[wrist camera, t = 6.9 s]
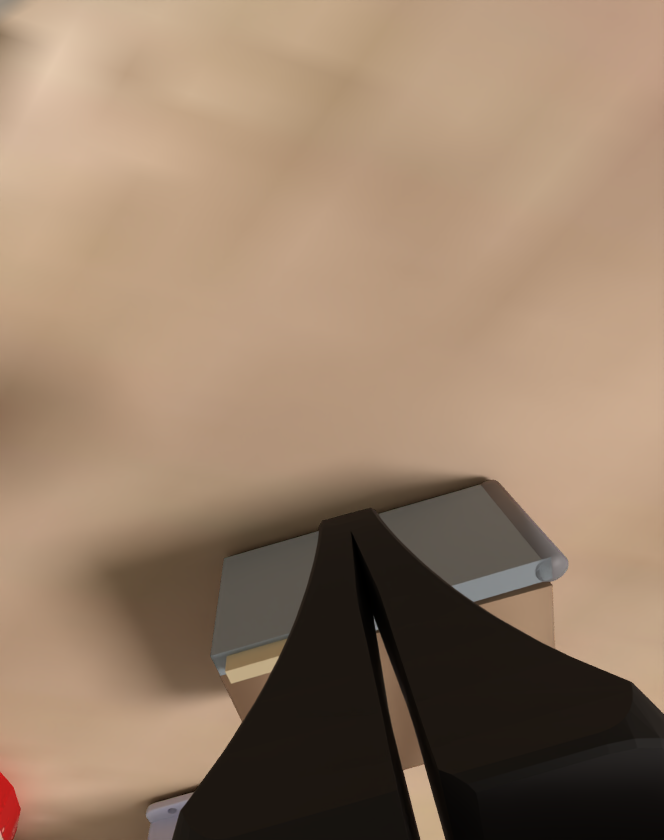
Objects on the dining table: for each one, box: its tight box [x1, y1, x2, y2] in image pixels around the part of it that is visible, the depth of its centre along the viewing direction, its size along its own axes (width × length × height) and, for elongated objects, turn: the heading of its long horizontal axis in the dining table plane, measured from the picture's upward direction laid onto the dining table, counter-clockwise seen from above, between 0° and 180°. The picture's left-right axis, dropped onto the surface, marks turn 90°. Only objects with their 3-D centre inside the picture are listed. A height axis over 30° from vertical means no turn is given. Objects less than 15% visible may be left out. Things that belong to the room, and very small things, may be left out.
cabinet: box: [220, 582, 555, 770], centre depth 20 cm, size 12×8×5 cm, turn 103°
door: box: [210, 480, 568, 684], centre depth 18 cm, size 13×1×6 cm, turn 104°
